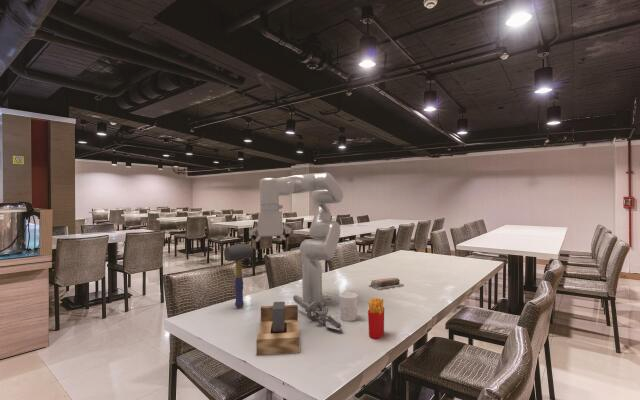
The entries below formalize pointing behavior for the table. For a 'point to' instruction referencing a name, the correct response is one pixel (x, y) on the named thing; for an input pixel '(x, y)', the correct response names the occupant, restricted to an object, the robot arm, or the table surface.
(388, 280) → the packaged product
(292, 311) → the wooden frame stool
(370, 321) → the french fries
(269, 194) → the robot arm
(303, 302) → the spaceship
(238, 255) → the rubber mallet
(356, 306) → the white cup
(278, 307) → the brushed grey post
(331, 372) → the table surface
